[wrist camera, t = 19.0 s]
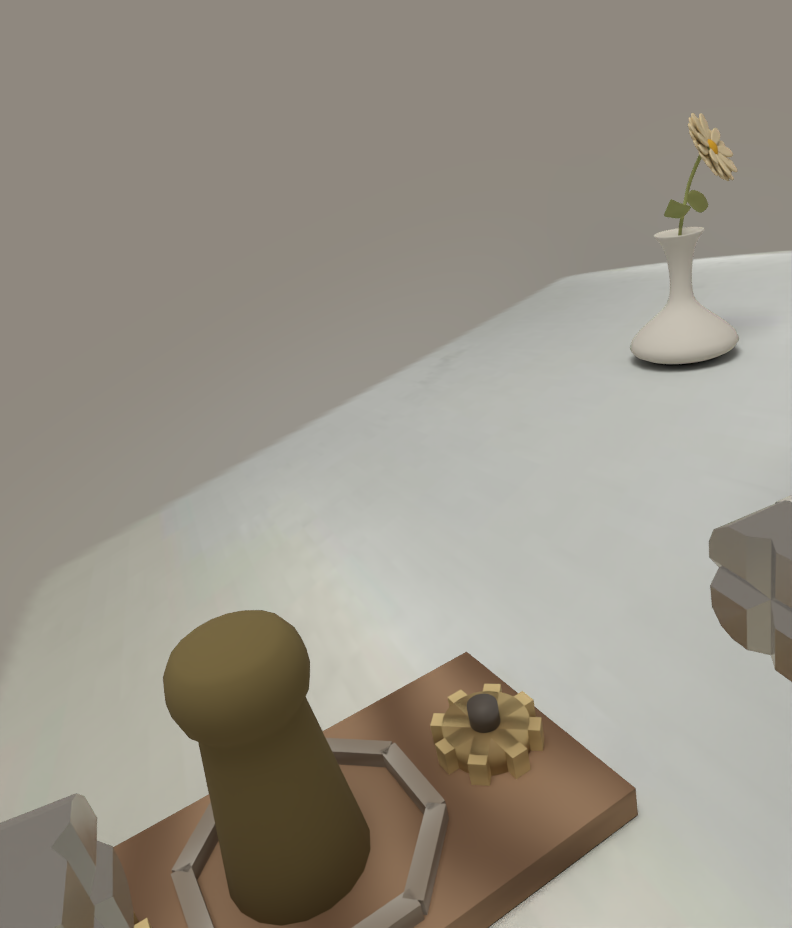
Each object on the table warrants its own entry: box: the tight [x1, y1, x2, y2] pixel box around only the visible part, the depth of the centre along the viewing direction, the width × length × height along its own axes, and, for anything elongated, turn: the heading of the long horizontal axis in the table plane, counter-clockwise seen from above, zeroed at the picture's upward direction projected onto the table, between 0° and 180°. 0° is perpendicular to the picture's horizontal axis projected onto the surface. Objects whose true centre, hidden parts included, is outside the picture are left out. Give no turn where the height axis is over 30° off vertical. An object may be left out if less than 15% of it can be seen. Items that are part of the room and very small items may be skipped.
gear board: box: [113, 652, 638, 928], centre depth 30 cm, size 24×12×4 cm, turn 120°
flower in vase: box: [630, 113, 739, 364], centre depth 78 cm, size 13×11×25 cm
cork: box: [163, 610, 370, 926], centre depth 28 cm, size 6×6×11 cm
